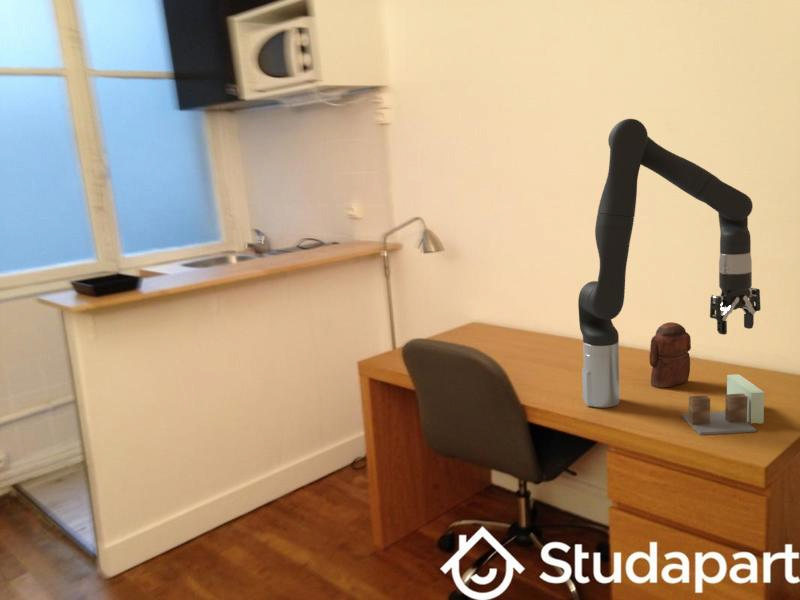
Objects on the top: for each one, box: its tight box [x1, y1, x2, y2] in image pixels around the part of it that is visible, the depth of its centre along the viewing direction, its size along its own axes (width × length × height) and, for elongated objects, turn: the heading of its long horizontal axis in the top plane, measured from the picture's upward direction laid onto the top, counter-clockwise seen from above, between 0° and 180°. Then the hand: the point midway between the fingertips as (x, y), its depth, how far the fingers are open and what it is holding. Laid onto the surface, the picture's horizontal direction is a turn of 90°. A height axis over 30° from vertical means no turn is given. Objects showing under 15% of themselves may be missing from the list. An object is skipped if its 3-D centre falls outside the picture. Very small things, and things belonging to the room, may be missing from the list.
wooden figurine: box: [649, 321, 692, 389], centre depth 198 cm, size 12×6×18 cm, turn 115°
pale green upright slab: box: [726, 374, 765, 425], centre depth 174 cm, size 3×14×8 cm, turn 177°
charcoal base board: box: [681, 411, 757, 436], centre depth 170 cm, size 13×12×1 cm
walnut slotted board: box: [688, 393, 748, 425], centre depth 169 cm, size 13×2×6 cm, turn 87°
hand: (735, 331), depth 180 cm, fingers open, 8 cm apart
